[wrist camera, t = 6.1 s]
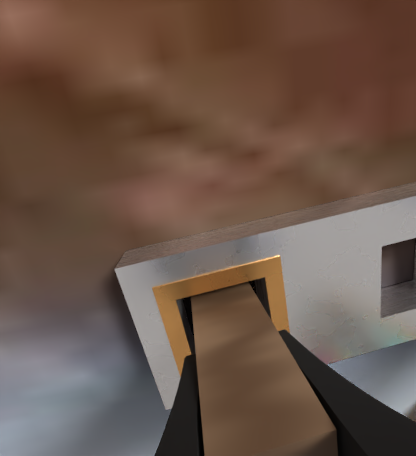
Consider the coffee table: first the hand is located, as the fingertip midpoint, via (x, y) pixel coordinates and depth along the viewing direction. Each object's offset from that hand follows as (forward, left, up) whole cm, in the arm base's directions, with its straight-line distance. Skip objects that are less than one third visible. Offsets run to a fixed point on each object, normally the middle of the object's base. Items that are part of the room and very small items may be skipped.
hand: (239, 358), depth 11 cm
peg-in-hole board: (-6, 0, -5) cm, 8 cm away
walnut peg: (0, 0, -3) cm, 4 cm away
